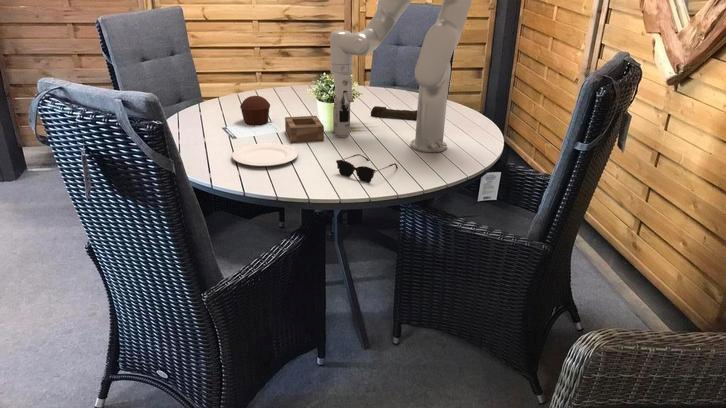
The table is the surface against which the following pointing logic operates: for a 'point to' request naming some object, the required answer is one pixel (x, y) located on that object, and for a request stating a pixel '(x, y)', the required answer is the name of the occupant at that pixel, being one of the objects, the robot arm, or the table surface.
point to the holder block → (304, 129)
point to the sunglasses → (357, 169)
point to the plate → (264, 155)
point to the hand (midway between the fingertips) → (341, 118)
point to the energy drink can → (339, 127)
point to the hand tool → (393, 113)
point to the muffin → (255, 111)
